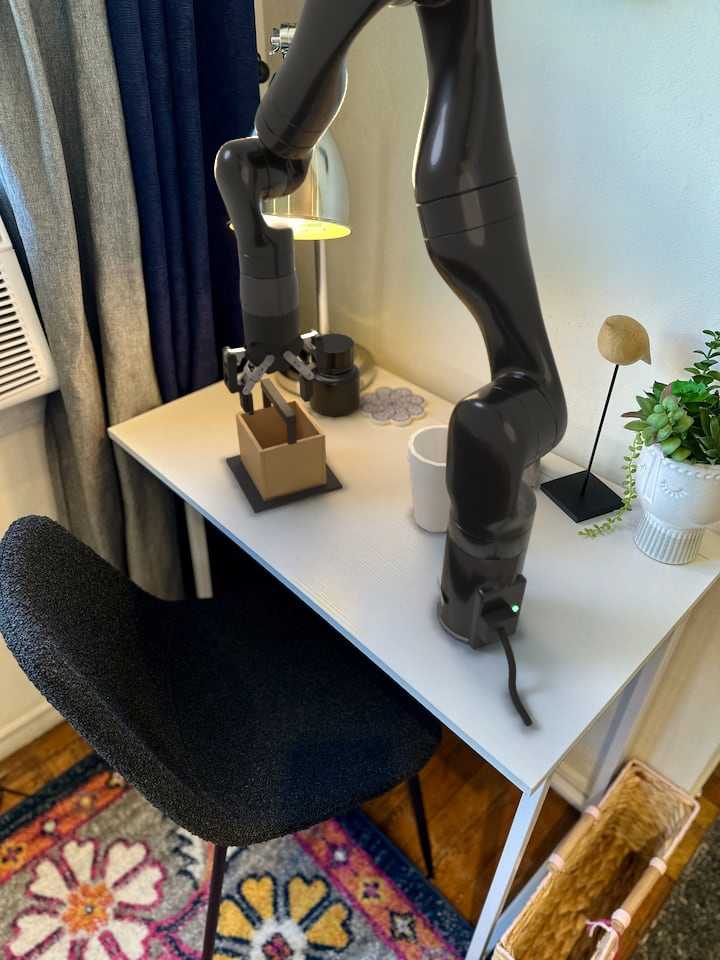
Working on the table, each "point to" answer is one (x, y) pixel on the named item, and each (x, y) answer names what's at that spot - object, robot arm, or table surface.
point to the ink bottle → (337, 378)
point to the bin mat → (261, 505)
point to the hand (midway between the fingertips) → (277, 405)
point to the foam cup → (429, 477)
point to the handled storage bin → (281, 445)
